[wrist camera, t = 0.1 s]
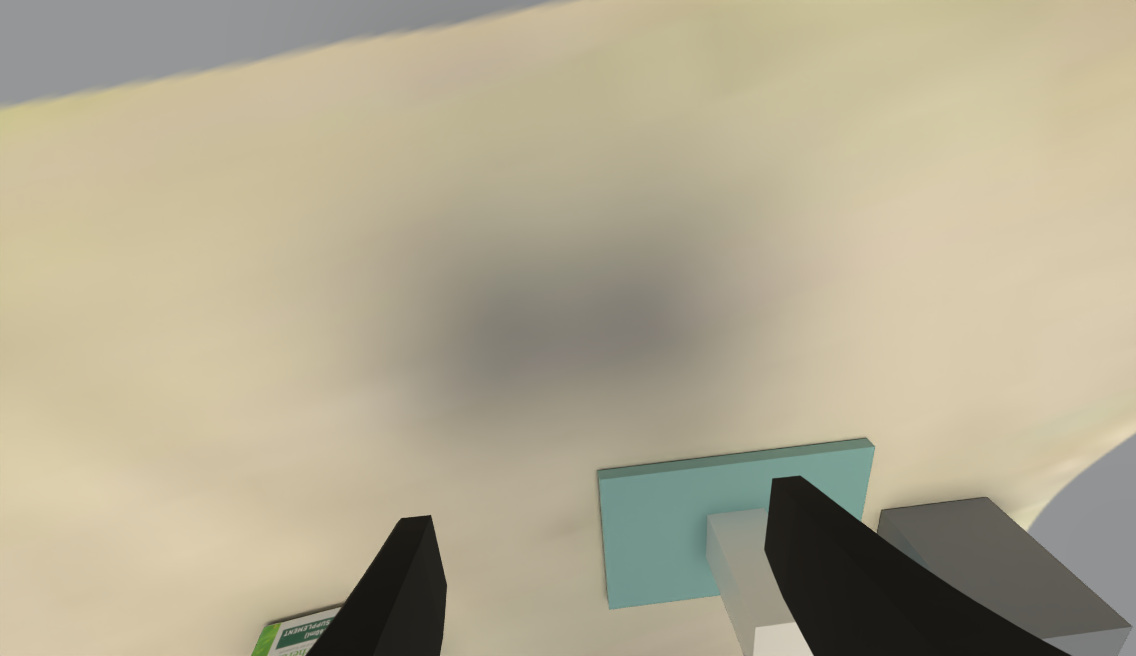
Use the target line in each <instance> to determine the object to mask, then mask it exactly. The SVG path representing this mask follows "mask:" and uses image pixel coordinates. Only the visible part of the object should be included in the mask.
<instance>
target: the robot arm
mask: <svg viewBox="0 0 1136 656" xmlns="http://www.w3.org/2000/svg"><path fill="white" fill-rule="evenodd" d="M764 551H765V554H766V556H767V559H768V562H769V564H770V567H771V570H772V572H773V575H774V577H775V580H776V582H777V585H778V587H779V590H780V592H781V594H782V597H783V599H784V601H785V603H786V605H787V607H788V609H789V611H790V612H791V614H792V616H793V618H794V620H795V622H796V624H797V626H798V628H799V630H800V631H801V633H802V635H803V637H804V639H805V641H806V643H807V645H808V646H809V648H810V650H811V652H812V654H813V656H1072V655H1070V654H1068V653H1066V652H1064V651H1062V650H1060V649H1058V648H1056V647H1055V646H1053V645H1051V644H1049V643H1047V642H1045V641H1043V640H1042V639H1040V638H1038V637H1036V636H1034V635H1033V634H1031V633H1029V632H1027V631H1025V630H1024V629H1022V628H1020V627H1018V626H1017V625H1015V624H1013V623H1012V622H1010V621H1008V620H1007V619H1005V618H1003V617H1001V616H1000V615H998V614H996V613H995V612H993V611H991V610H990V609H988V608H986V607H985V606H983V605H981V604H980V603H978V602H976V601H975V600H973V599H971V598H970V597H968V596H967V595H965V594H964V593H962V592H960V591H959V590H957V589H956V588H954V587H953V586H951V585H950V584H948V583H947V582H945V581H944V580H942V579H941V578H939V577H938V576H936V575H935V574H933V573H932V572H930V571H929V570H927V569H926V568H924V567H923V566H921V565H920V564H918V563H917V562H915V561H914V560H913V559H911V558H910V557H908V556H907V555H905V554H904V553H903V552H901V551H900V550H898V549H897V548H896V547H894V546H893V545H892V544H890V543H889V542H887V541H886V540H885V539H883V538H882V537H881V536H879V535H878V534H877V533H875V532H874V531H873V530H871V529H870V528H869V527H867V526H866V525H865V524H863V523H862V522H861V521H859V520H858V519H857V518H855V517H854V516H853V515H851V514H850V513H849V512H848V511H846V510H845V509H844V508H842V507H841V506H840V505H838V504H837V503H836V502H835V501H833V500H832V499H831V498H829V497H828V496H827V495H826V494H824V493H823V492H822V491H820V490H819V489H818V488H817V487H815V486H814V485H813V484H811V483H810V482H809V481H807V480H806V479H805V478H803V477H802V476H801V475H799V476H790V477H781V478H772V485H771V494H770V502H769V511H768V519H767V528H766V537H765V545H764ZM446 592H447V583H446V579H445V575H444V570H443V566H442V561H441V557H440V552H439V548H438V544H437V539H436V535H435V530H434V526H433V521H432V517H431V515H427V516H418V517H408V518H401V519H400V520H399V521H398V523H397V524H396V526H395V527H394V529H393V530H392V532H391V534H390V535H389V537H388V538H387V540H386V542H385V543H384V545H383V546H382V548H381V549H380V551H379V553H378V554H377V556H376V557H375V559H374V560H373V562H372V563H371V565H370V566H369V568H368V569H367V571H366V572H365V574H364V575H363V577H362V578H361V580H360V581H359V583H358V584H357V586H356V587H355V588H354V590H353V591H352V593H351V594H350V596H349V597H348V598H347V600H346V601H345V603H344V604H343V606H342V607H341V609H340V610H339V611H338V613H337V614H336V615H335V617H334V618H333V620H332V621H331V622H330V624H329V625H328V626H327V627H326V629H325V630H324V631H323V633H322V634H321V635H320V637H319V638H318V639H317V641H316V642H315V643H314V644H313V646H312V647H311V648H310V650H309V651H308V652H307V654H306V655H305V656H440V651H441V645H442V640H443V631H444V619H445V606H446Z"/></svg>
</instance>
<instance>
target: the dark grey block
mask: <svg viewBox="0 0 1136 656" xmlns="http://www.w3.org/2000/svg"><path fill="white" fill-rule="evenodd" d="M877 534H878V535H879V536H881V537H882V538H883V539H885V540H886V541H887V542H889V543H890V544H892V545H893V546H894V547H896V548H897V549H898V550H900V551H901V552H903V553H904V554H905V555H907V556H908V557H910V558H911V559H913V560H914V561H915V562H917V563H918V564H920V565H921V566H923V567H924V568H926V569H927V570H929V571H930V572H932V573H933V574H935V575H936V576H938V577H939V578H941V579H942V580H944V581H945V582H947V583H948V584H950V585H951V586H953V587H954V588H956V589H957V590H959V591H960V592H962V593H964V594H965V595H967V596H968V597H970V598H971V599H973V600H975V601H976V602H978V603H980V604H981V605H983V606H985V607H986V608H988V609H990V610H991V611H993V612H995V613H996V614H998V615H1000V616H1001V617H1003V618H1005V619H1007V620H1008V621H1010V622H1012V623H1013V624H1015V625H1017V626H1018V627H1020V628H1022V629H1024V630H1025V631H1027V632H1029V633H1031V634H1033V635H1034V636H1036V637H1038V638H1040V639H1042V640H1043V641H1045V642H1047V643H1049V644H1051V645H1053V646H1055V647H1056V648H1058V649H1060V650H1062V651H1064V652H1066V653H1068V654H1070V655H1072V656H1118V654H1119V652H1120V650H1121V648H1122V646H1123V644H1124V642H1125V641H1126V639H1127V637H1128V635H1129V633H1130V631H1131V629H1132V626H1131V625H1130V624H1129V623H1128V622H1127V621H1126V620H1125V619H1124V618H1122V617H1121V616H1120V615H1119V614H1118V613H1117V612H1116V611H1115V610H1113V609H1112V608H1111V607H1110V606H1109V605H1108V604H1106V602H1104V601H1103V600H1102V599H1101V598H1100V597H1099V596H1098V595H1097V594H1095V593H1094V592H1093V591H1092V590H1091V589H1090V588H1088V586H1086V585H1085V584H1084V583H1083V582H1082V581H1081V580H1080V579H1078V578H1077V577H1076V576H1075V575H1074V574H1073V573H1072V572H1071V571H1070V570H1068V569H1067V568H1066V567H1065V566H1064V565H1063V564H1062V563H1061V562H1059V561H1058V560H1057V559H1056V558H1055V557H1054V556H1053V555H1052V554H1051V553H1049V552H1048V551H1047V550H1046V549H1045V548H1044V547H1043V546H1042V545H1040V544H1039V543H1038V542H1037V541H1036V540H1035V539H1034V538H1032V537H1031V536H1030V535H1029V534H1028V533H1027V532H1026V531H1025V530H1024V529H1022V528H1021V527H1020V526H1019V525H1018V524H1017V523H1016V522H1015V521H1013V520H1012V519H1011V518H1010V517H1009V516H1008V515H1007V514H1006V513H1004V512H1003V511H1002V510H1001V509H1000V508H999V507H998V506H997V505H995V504H994V503H993V502H992V501H991V500H990V499H989V498H988V497H985V498H977V499H969V500H961V501H953V502H945V503H937V504H929V505H921V506H913V507H905V508H897V509H889V510H882V513H881V517H880V522H879V527H878V532H877Z"/></svg>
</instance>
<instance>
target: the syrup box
mask: <svg viewBox="0 0 1136 656" xmlns="http://www.w3.org/2000/svg"><path fill="white" fill-rule="evenodd" d="M340 609H341V607H339V608H335V609H331V610H327V611H323V612H320V613H316V614H312V615H308V616H305V617H301V618H297V619H293V620H289V621H286V622H282V623H276V624H272V625H269V626H266V627H265V628H264V629H263V631H262V633H261V635H260V637H259V640H258V642H257V644H256V647H255V649H254V651H253V653H252V655H251V656H305V655H306V654H307V652H308V651H309V650H310V648H311V647H312V646H313V644H314V643H315V642H316V641H317V639H318V638H319V637H320V635H321V634H322V633H323V631H324V630H325V629H326V627H327V626H328V625H329V624H330V622H331V621H332V620H333V618H334V617H335V615H336V614H337V613H338V611H339V610H340Z"/></svg>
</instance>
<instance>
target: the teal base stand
mask: <svg viewBox="0 0 1136 656" xmlns="http://www.w3.org/2000/svg"><path fill="white" fill-rule="evenodd" d="M874 450H875V446H874V445H873V444H872V443H871V442H870V441H869V440H868V439H867V438H866V439H857V440H849V441H841V442H832V443H824V444H816V445H807V446H799V447H791V448H783V449H774V450H766V451H758V452H749V453H741V454H733V455H724V456H716V457H708V458H699V459H691V460H683V461H674V462H666V463H658V464H649V465H641V466H633V467H625V468H616V469H608V470H600V471H598V482H599V495H600V508H601V521H602V534H603V547H604V559H605V572H606V585H607V598H608V605H609V610H610V609H618V608H626V607H633V606H641V605H649V604H656V603H664V602H672V601H679V600H687V599H695V598H703V597H710V596H718V595H721V597H722V600H723V602H724V605H725V607H726V610H727V613H728V615H729V618H730V620H731V623H732V625H733V628H734V631H735V633H736V636H737V638H738V641H739V643H740V646H741V649H742V651H743V654H744V656H813V654H812V652H811V650H810V648H809V646H808V645H807V643H806V641H805V639H804V637H803V635H802V633H801V631H800V630H799V628H798V626H797V624H796V622H795V620H794V618H793V616H792V614H791V612H790V611H789V609H788V607H787V605H786V603H785V601H784V599H783V597H782V594H781V592H780V590H779V587H778V585H777V582H776V580H775V577H774V575H773V572H772V570H771V567H770V564H769V562H768V559H767V556H766V554H765V551H764V545H765V537H766V528H767V519H768V511H769V502H770V494H771V485H772V478H781V477H790V476H799V475H801V476H802V477H803V478H805V479H806V480H807V481H809V482H810V483H811V484H813V485H814V486H815V487H817V488H818V489H819V490H820V491H822V492H823V493H824V494H826V495H827V496H828V497H829V498H831V499H832V500H833V501H835V502H836V503H837V504H838V505H840V506H841V507H842V508H844V509H845V510H846V511H848V512H849V513H850V514H851V515H853V516H854V517H855V518H857V519H858V520H859V521H861V519H862V514H863V508H864V503H865V498H866V492H867V487H868V482H869V477H870V471H871V466H872V461H873V456H874Z"/></svg>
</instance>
